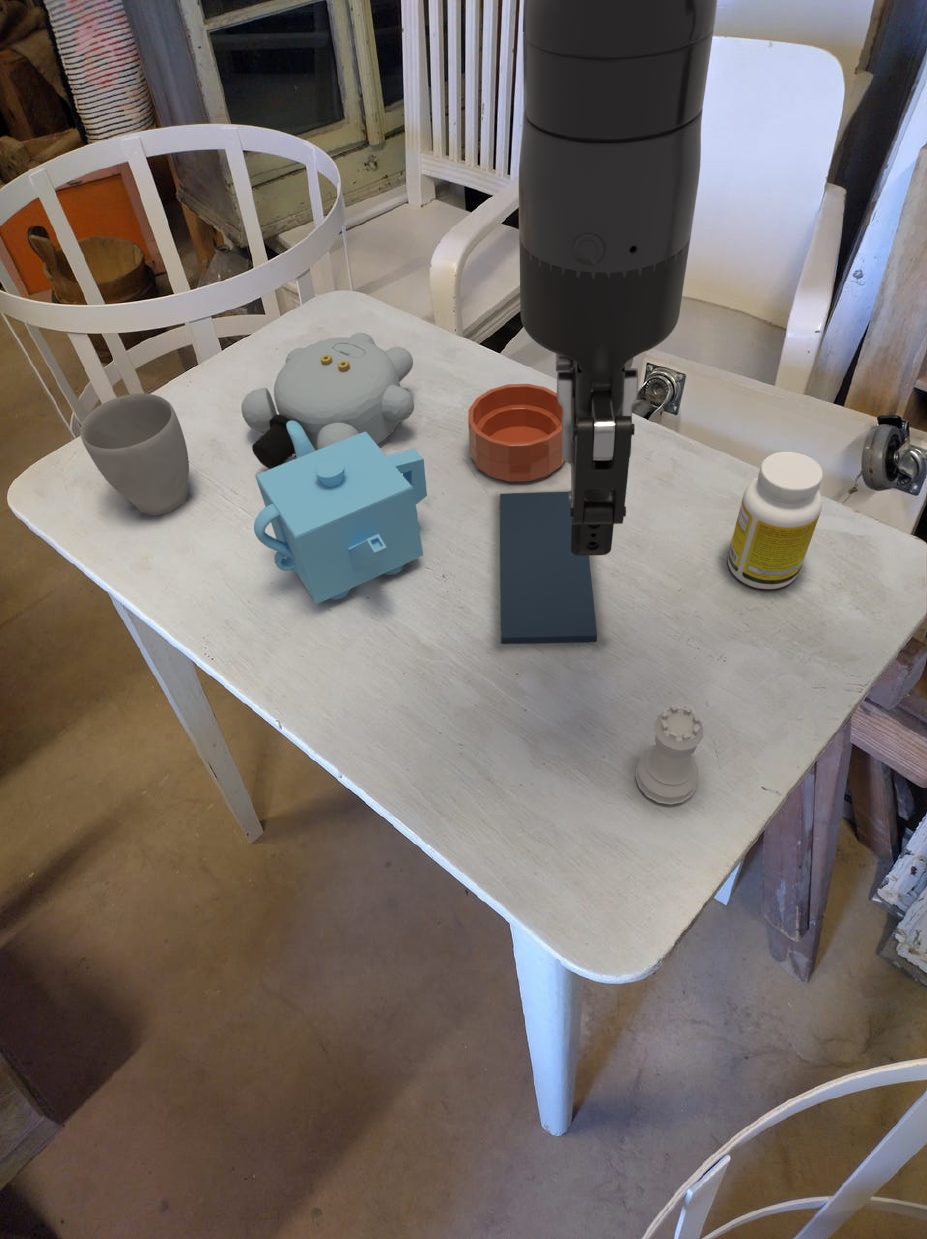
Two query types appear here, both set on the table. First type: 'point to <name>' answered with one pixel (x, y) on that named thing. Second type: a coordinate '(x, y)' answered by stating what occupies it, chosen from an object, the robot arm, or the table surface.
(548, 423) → the bowl
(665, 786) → the rook chess piece
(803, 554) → the pill bottle
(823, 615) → the table surface
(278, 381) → the figurine
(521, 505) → the rectangular board
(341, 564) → the teapot
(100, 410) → the mug
